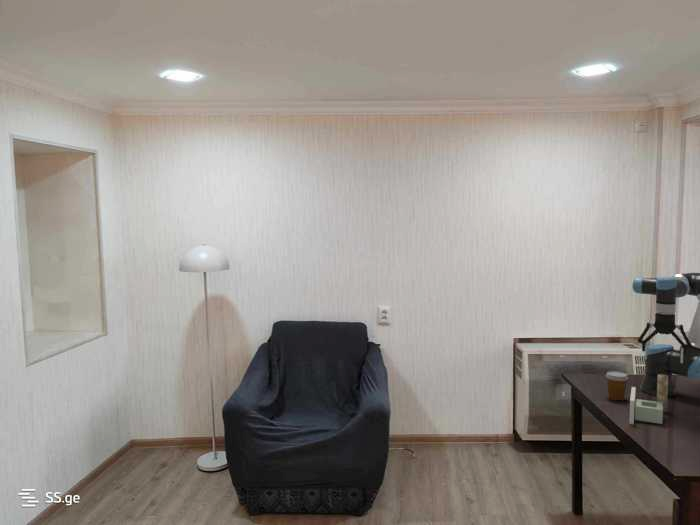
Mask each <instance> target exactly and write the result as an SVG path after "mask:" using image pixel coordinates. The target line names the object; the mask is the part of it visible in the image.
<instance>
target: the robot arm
mask: <svg viewBox="0 0 700 525" xmlns="http://www.w3.org/2000/svg"><path fill="white" fill-rule="evenodd" d="M632 290H633V292H634V293H636V294H640V295H651V296H652V295H653V296H655V308H654V309H655V314H654V323H653V322H650V321H648V322H647V323H646V326H645V328H644V330H643V331H642V333H641V334H640V336H639V337H638V339H637V342H638V343H640V344H641V351H642V352H644V361H645V362H644V375H643V378H642V381H641V383H640V385H639V388H640V391H641V390H642V391H641V392H643V391H644V392H643V393H645V392H646V394H647V395H648V394H649V395H652V396H657V381H658V374H664V375H667V376H668V396H667V397H674V396H676V394H677V388H676V385H675V382H674V378H673V375H676V376H681V377H685V378H688V379H694V380H695V379H696V380H700V273H699V272H689V273H688V272H687V273H679V274H673V275H672V276H662V277H661V276H660V277H643V276H642V277H636V278H634V279H633V281H632ZM685 296H693V297H696V299H697V300H698V303H697V305H696V306H697V307H696V309H695V312H694V316H693V319H692V321H691V325H690V328H689V330H688V335H687V333H686V331H685V330H684V325H683V324H679V325H676V314H675V313H676V309H677V308H676V307H677V306H676V305H677V303H676V302H677V298H683V297H685ZM652 327H653V328H654V330H653V331H652V332H651V333H650V334H649V335H648V336H647V337H646V338H645V336H646V334H647V333H648V331H649V330H650V329H651V328H652ZM676 329H677V330H678V331H680V333H681V336H682V337H683V340H684V341H685V342H684V341H683V340H682V339H681V338H680V337H679V336H678V334H677V333H676V332H675V330H676ZM657 334H660V335H667V336H668V335H672V336H673V338H674V339H676V341H677V342H678V343H679V344H680V347H679V350H678V349H674V348H675V347H674V346H673V345H672V344H667V343H666V344H664V343H661V344H658V343H656V344H650V345H648V342H650V341H651V340H652V339H653V337H655V336H656V335H657ZM644 338H645V339H644Z"/></svg>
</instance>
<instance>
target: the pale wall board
mask: <svg viewBox="0 0 700 525" xmlns="http://www.w3.org/2000/svg"><path fill="white" fill-rule="evenodd" d="M636 389H637V388H636V386H631V391H630V399H629V418H628V419H629V422H628V423H629V425H634V424H635V423H634V422H635V405H636V392H637V390H636Z"/></svg>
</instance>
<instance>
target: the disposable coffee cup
mask: <svg viewBox="0 0 700 525" xmlns="http://www.w3.org/2000/svg"><path fill="white" fill-rule="evenodd" d="M605 377H606V382H607V390H608V391H607V392H608V398H609V399H610V400H612V401H616V400H622V401H624V400H625V395H626V389H627V383H628V379H629V377H628V374H627V373H625V372H623V371H616V370H615V371H614V370H612V371H611V370H610V371H607V373H606V374H605Z"/></svg>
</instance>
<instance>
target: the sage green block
mask: <svg viewBox="0 0 700 525" xmlns="http://www.w3.org/2000/svg"><path fill="white" fill-rule="evenodd" d="M663 414H664V412H663V403H662V402H657V401H655V400H654V401H653V400H648V399H647V400H646V399H639V398H635V415H634V421H640V422H647V423H653V424H659V425H663V417H664V416H663Z"/></svg>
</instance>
